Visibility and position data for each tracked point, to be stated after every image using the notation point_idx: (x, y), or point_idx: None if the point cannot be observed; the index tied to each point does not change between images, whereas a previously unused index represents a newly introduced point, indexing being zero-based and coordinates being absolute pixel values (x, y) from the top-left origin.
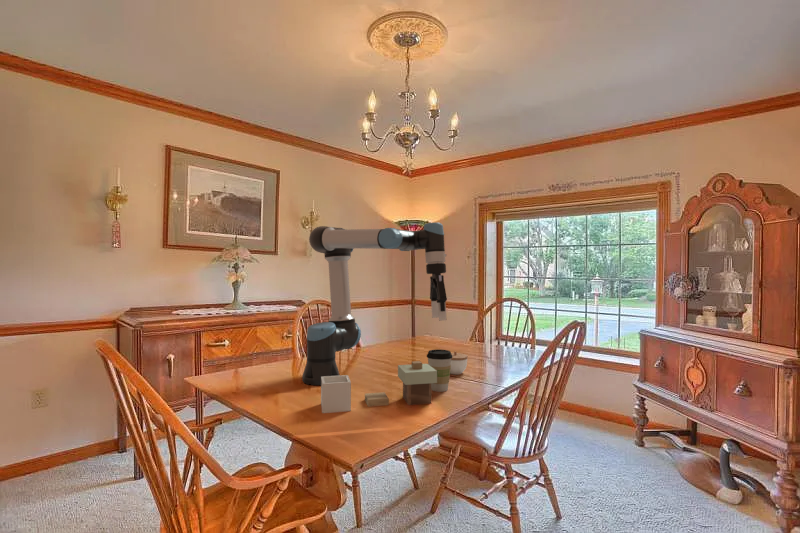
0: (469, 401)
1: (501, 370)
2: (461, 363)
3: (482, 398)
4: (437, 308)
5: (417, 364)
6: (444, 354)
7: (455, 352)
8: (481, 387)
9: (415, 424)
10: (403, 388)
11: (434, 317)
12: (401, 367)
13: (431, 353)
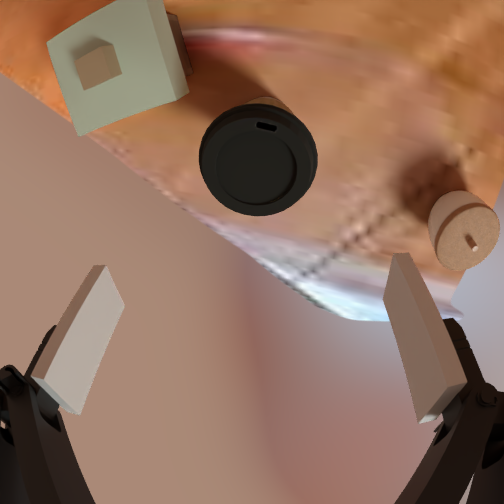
0: (178, 185)
1: None
2: (431, 239)
3: (204, 218)
4: (406, 352)
5: (80, 73)
6: (206, 183)
7: (471, 247)
8: (298, 236)
9: (36, 74)
10: None
11: (391, 269)
12: (107, 9)
13: (219, 128)
